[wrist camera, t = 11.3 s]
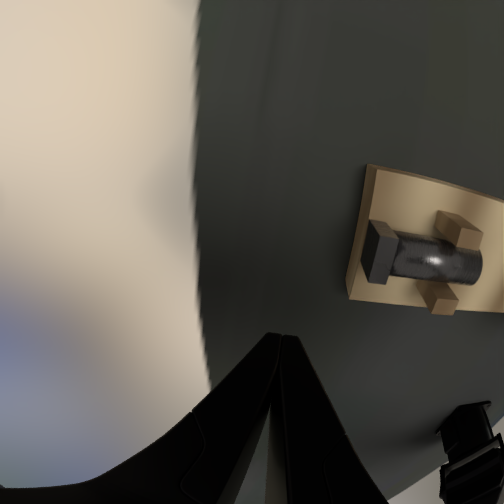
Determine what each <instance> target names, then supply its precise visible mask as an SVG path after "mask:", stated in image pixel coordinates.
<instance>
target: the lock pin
mask: <svg viewBox="0 0 504 504" xmlns="http://www.w3.org/2000/svg"><path fill="white" fill-rule="evenodd" d="M360 262H361V265H362V267H363V270H364V273H365V276H366V279H367V282H368V283H373V284H382V285H386V283H387V280H388V277H389V276H395V277H403V278H410V279H418V280H426V281H434V282H442V283H450V284H458V285H466V286H472V285H474V284H475V283H476V282H477V281H478V279H479V278H480V275H481V272H482V267H483V258H482V253H481V251H480V249H479V250H478V251H476V250H471V249H466V248H461V247H456V246H455V245H454V244H453V243H452V242H451V241H450V240H445V239H440V238H435V237H430V236H424V235H419V234H414V233H408V232H402V231H396V230H392V229H391V228H390V226H389V225H388V224H387V223H386V222H383V221H377V220H371V219H369V223H368V228H367V233H366V237H365V242H364V246H363V251H362V255H361V259H360Z"/></svg>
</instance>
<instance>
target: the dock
mask: <svg viewBox="0 0 504 504" xmlns="http://www.w3.org/2000/svg"><path fill="white" fill-rule="evenodd" d="M369 219H371V220H377V221H383V222H386V223H387V224H388V225H389V226H390V228H391V229H392V230H396V231H402V232H408V233H414V234H419V235H424V236H430V237H435V238H440V239H445V240H450V241H451V242H452V243H453V244H454V245H455V246H456V247H461V248H466V249H471V250H476V251H478V250H479V249H480V251H481V253H482V258H483V267H482V272H481V275H480V278H479V279H478V281H477V282H476V283H475V284H474V285H472V286H466V285H458V284H450V283H442V282H434V281H426V280H418V279H410V278H403V277H395V276H389V277H388V280H387V283H386V285H382V284H373V283H368V282H367V279H366V276H365V273H364V270H363V267H362V265H361V262H360V259H361V255H362V251H363V246H364V242H365V237H366V233H367V228H368V223H369ZM345 281H346V286H347V291H348V296H349V299H352V300H361V301H370V302H379V303H388V304H398V305H409V306H419V307H428V309H429V311H430V313H431V314H441V315H453V313H454V311H455V310H469V311H485V312H502V313H504V200H502V199H499V198H496V197H493V196H490V195H487V194H484V193H481V192H478V191H475V190H472V189H469V188H466V187H462V186H459V185H455V184H452V183H449V182H445V181H441V180H438V179H434V178H430V177H426V176H422V175H418V174H414V173H410V172H405V171H401V170H397V169H392V168H387V167H382V166H377V165H372V164H367V169H366V176H365V183H364V189H363V195H362V201H361V207H360V212H359V217H358V223H357V228H356V233H355V238H354V242H353V247H352V252H351V256H350V261H349V265H348V269H347V273H346V277H345Z"/></svg>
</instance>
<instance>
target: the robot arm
mask: <svg viewBox="0 0 504 504" xmlns="http://www.w3.org/2000/svg"><path fill="white" fill-rule="evenodd" d="M271 399H272V400H271ZM270 404H271V406H270ZM490 406H491V401H489V402H483V403H478V404H472V405H465V406H460V407H458V408H457V409H456V410H455V412H454V413H453V414H452V415H451V416H450V417H449V418H448V420H447V421H446V422H445V423H444V424H443V425H442V426H441V427H440V428H439V429H438V430H437V431H436V436H439V435H441V437H442V442H443V446H444V451H445V454H447V455H448V460H449V463H447V464H444V465H442V466H441V469H440V482H441V485H440V493H439V497H440V498H441V499H443V501H444V503H445V504H503V503H504V443H503V440H502V437H501V434H500V433H498V434H497V435H496V436H495V437H494V435H493V432H492V429H491V426H490V423H489V420H488V417H487V414H486V412H485V411H486V410H487V409H488V408H489V407H490ZM269 408H270V416H269V436H268V455H267V473H266V489H265V503H264V504H389V503H388V502H387V500H386V499H385V497H384V496H383V495H382V493H381V492H380V490H379V489H378V487H377V486H376V485H375V483H374V482H373V480H372V479H371V477H370V475H369V474H368V472H367V471H366V469H365V468H364V466H363V464H362V463H361V461H360V459H359V457H358V455H357V453H356V452H355V450H354V448H353V446H352V444H351V442H350V440H349V438H348V436H347V435H345V433H346V432H345V430H344V428H343V426H342V424H341V422H340V420H339V418H338V416H337V413H336V411H335V409H334V407H333V405H332V403H331V401H330V399H329V397H328V395H327V393H326V391H325V389H324V387H323V385H322V383H321V381H320V379H319V377H318V375H317V373H316V371H315V369H314V367H313V365H312V363H311V361H310V359H309V357H308V355H307V353H306V351H305V349H304V347H303V345H302V343H301V341H300V339H299V337H298V336H292V335H283V337H282V335H281V334H278V333H271V332H268V333H266V334H265V335H264V336H263V337H262V339H261V340H260V341H259V342H258V343H257V344H256V345H255V346H254V347H253V348H252V349H251V350H250V352H249V353H248V354H247V355H246V356H245V357H244V358H243V359H242V360H241V361H240V362H239V363H238V364H237V365H236V366H235V367H234V368H233V369H232V370H231V371H230V372H229V373H228V375H227V376H226V377H225V378H224V379H223V380H222V381H221V382H220V383H219V384H218V385H217V386H216V387H215V388H214V389H213V390H212V391H211V392H210V393H209V394H208V395H207V396H206V397H205V398H204V399H203V400H202V401H201V402H199V403H198V404H197V405H196V406H195V407H194V408H193V409H192V412H189V413H188V414H187V415H186V416H185V417H184V418H183V419H182V420H181V421H179V422H178V423H177V424H176V425H175V426H174V427H172V428H171V429H170V430H169V431H168V432H167V433H165V434H164V435H163V436H162V437H160V438H159V439H157V440H156V441H155V442H153V443H152V444H150V445H149V446H148V447H146V448H145V449H143V450H142V451H140V452H138V453H137V454H135V455H134V456H132V457H131V458H129V459H127V460H126V461H124V462H122V463H121V464H119V465H118V466H116V467H114V468H112V469H111V470H109V471H107V472H106V473H104V474H102V475H100V476H98V477H96V478H94V479H91V480H88V481H85V482H81V483H76V484H70V485H61V486H52V487H38V488H5V487H3V486H2V485H0V504H234V502H235V500H236V497H237V495H238V493H239V490H240V488H241V485H242V483H243V480H244V478H245V475H246V473H247V470H248V468H249V465H250V462H251V460H252V457H253V454H254V452H255V449H256V446H257V444H258V441H259V438H260V435H261V432H262V430H263V427H264V424H265V421H266V418H267V415H268V412H269ZM499 446H500V448H498V447H499Z"/></svg>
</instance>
